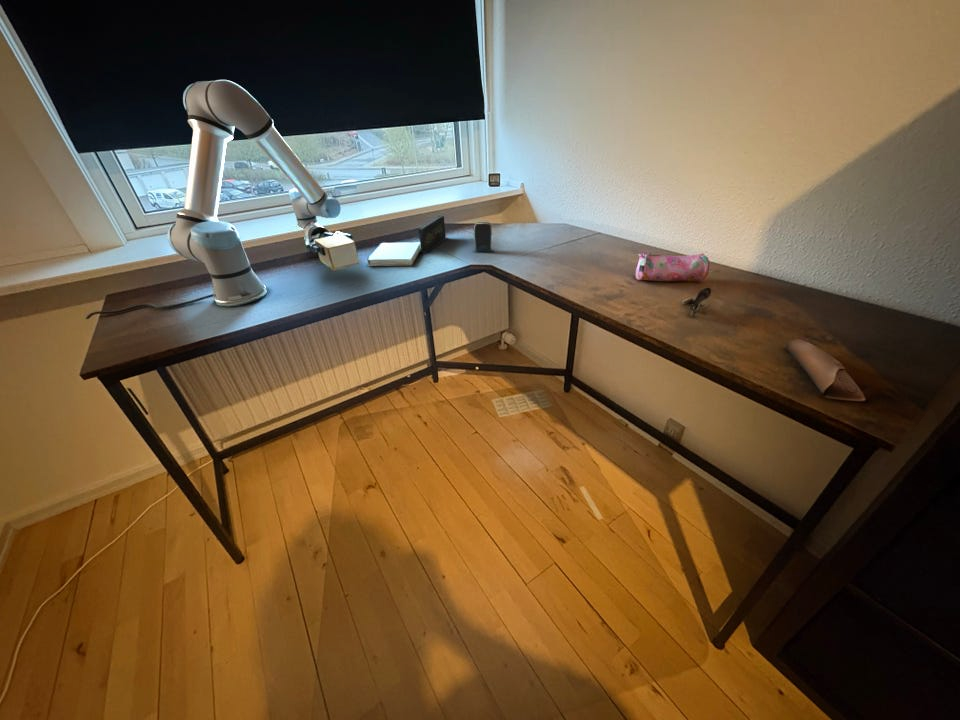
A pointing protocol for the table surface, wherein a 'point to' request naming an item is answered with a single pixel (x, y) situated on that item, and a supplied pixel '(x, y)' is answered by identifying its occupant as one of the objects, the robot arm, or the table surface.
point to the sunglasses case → (825, 372)
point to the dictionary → (338, 251)
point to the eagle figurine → (698, 301)
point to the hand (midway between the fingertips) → (338, 248)
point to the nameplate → (432, 233)
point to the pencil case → (672, 267)
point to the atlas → (394, 254)
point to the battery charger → (483, 236)
